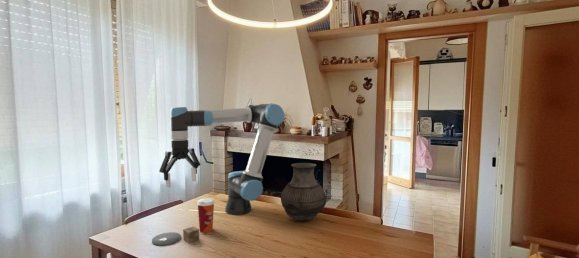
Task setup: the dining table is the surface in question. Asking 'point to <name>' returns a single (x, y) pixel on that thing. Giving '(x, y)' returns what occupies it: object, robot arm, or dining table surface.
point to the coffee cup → (205, 214)
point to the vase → (303, 193)
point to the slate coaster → (166, 239)
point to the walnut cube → (190, 234)
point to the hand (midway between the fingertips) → (181, 183)
